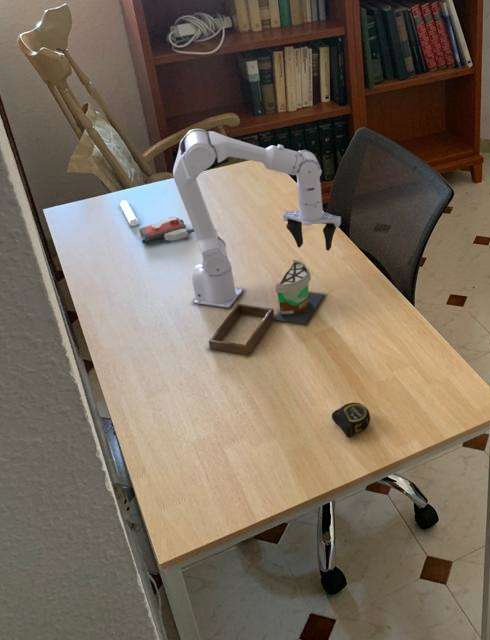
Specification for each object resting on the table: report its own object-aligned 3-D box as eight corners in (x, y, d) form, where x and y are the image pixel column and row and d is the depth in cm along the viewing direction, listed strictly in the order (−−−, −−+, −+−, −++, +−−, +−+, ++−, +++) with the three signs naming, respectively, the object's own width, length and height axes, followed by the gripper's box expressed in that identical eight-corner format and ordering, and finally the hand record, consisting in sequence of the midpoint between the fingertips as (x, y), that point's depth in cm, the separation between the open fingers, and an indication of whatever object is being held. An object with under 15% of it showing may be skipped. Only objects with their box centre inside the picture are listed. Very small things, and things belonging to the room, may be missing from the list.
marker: (124, 205, 244) (136, 227, 233) (117, 203, 243) (128, 225, 231) (126, 197, 244) (139, 219, 232) (120, 196, 242) (131, 217, 231)
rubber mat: (274, 320, 193) (274, 319, 193) (294, 291, 204) (294, 290, 204) (305, 325, 192) (305, 324, 192) (324, 295, 203) (324, 294, 203)
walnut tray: (210, 349, 184) (208, 341, 182) (239, 311, 196) (237, 303, 195) (247, 355, 182) (246, 346, 180) (274, 316, 195) (273, 308, 193)
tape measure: (331, 422, 163) (329, 409, 161) (360, 410, 167) (359, 396, 165) (346, 442, 159) (345, 429, 157) (376, 429, 162) (375, 415, 160)
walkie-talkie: (146, 250, 220) (215, 230, 230) (143, 236, 218) (212, 216, 228) (136, 237, 226) (203, 217, 236) (133, 223, 224) (201, 204, 234)
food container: (303, 322, 192) (299, 288, 187) (279, 319, 193) (274, 285, 188) (320, 294, 202) (317, 261, 197) (297, 291, 203) (293, 258, 198)
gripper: (276, 204, 193) (281, 251, 201) (333, 210, 191) (336, 258, 198) (286, 191, 199) (291, 238, 207) (342, 197, 197) (345, 243, 204)
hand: (314, 247), depth 203 cm, fingers open, 7 cm apart
